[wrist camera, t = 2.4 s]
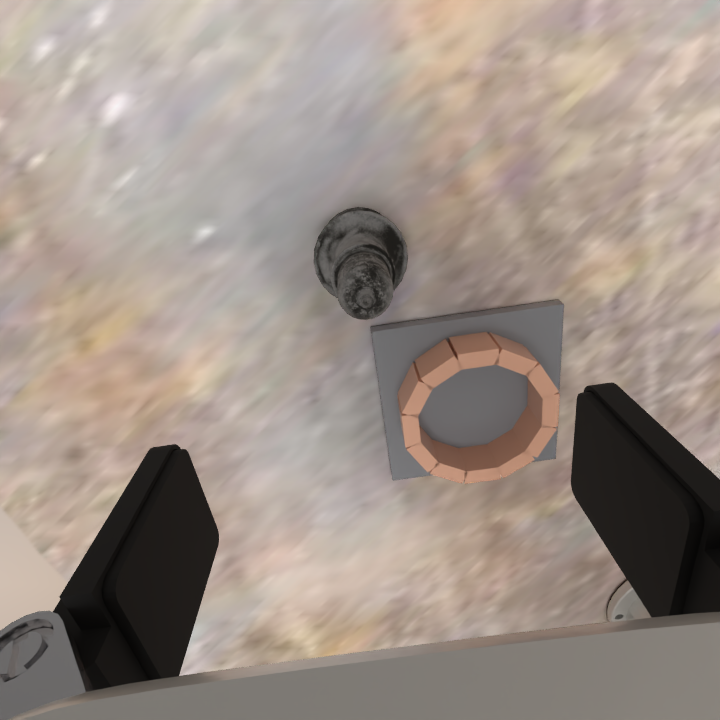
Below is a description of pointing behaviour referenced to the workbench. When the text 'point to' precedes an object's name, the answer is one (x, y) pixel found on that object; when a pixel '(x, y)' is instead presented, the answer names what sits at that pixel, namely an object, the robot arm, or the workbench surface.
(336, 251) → the dark flared piece
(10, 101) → the workbench surface
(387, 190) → the workbench surface
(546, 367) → the shaker holder
